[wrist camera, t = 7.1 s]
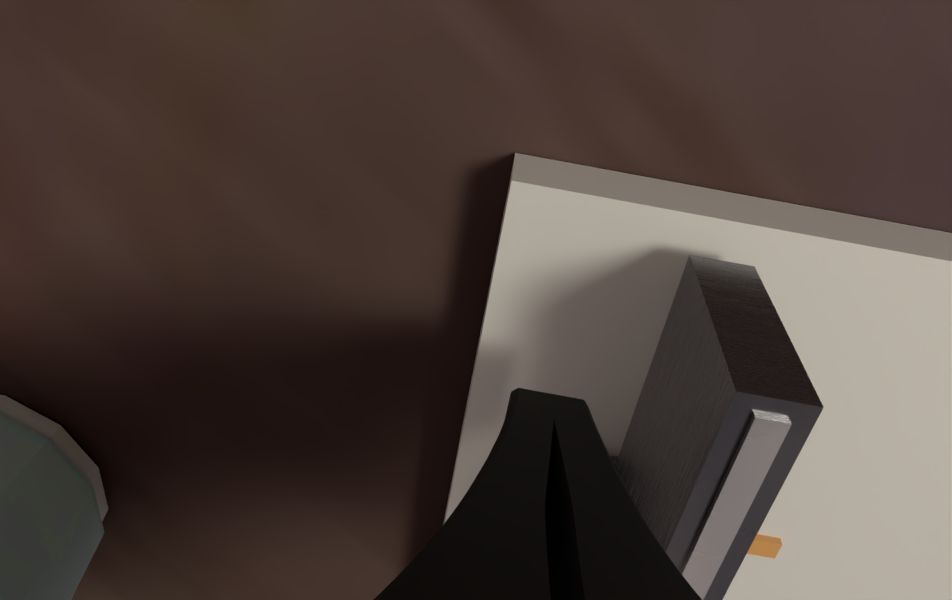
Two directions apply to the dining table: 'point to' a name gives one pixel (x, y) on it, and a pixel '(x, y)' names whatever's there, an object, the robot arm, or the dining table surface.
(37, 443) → the disposable coffee cup
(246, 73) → the dining table surface
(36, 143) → the dining table surface
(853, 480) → the base
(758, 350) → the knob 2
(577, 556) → the robot arm
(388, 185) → the dining table surface
